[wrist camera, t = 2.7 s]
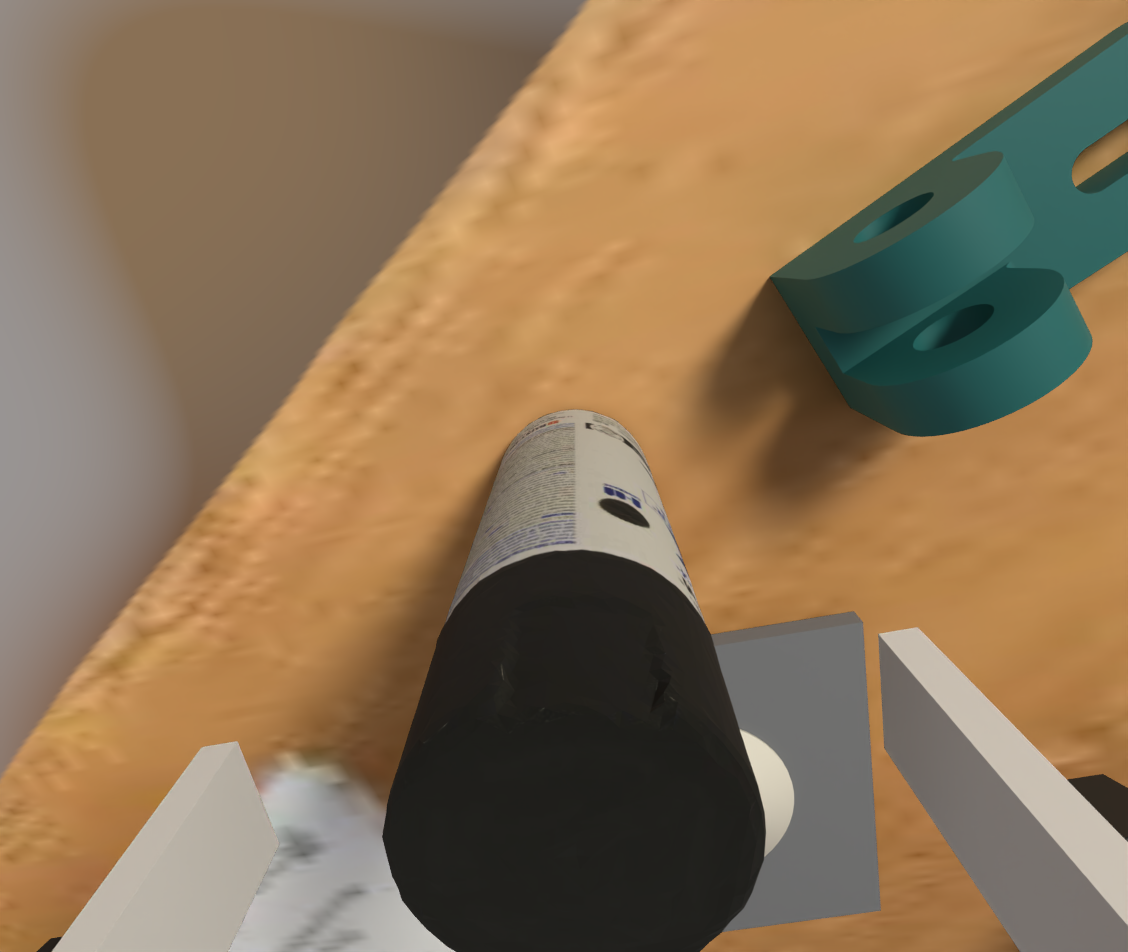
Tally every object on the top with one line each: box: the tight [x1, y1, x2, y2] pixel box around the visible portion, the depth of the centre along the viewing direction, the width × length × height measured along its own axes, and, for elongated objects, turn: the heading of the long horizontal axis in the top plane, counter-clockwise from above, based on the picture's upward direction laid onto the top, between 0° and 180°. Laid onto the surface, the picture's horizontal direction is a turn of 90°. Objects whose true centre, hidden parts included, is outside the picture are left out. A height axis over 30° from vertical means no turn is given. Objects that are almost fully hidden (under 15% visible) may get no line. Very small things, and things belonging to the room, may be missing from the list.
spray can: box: [382, 410, 766, 952], centre depth 21 cm, size 7×7×20 cm
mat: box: [711, 611, 881, 932], centre depth 35 cm, size 18×18×1 cm
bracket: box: [770, 22, 1128, 437], centre depth 23 cm, size 18×7×8 cm, turn 126°
